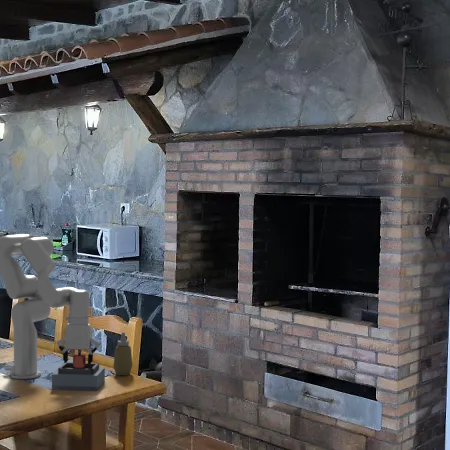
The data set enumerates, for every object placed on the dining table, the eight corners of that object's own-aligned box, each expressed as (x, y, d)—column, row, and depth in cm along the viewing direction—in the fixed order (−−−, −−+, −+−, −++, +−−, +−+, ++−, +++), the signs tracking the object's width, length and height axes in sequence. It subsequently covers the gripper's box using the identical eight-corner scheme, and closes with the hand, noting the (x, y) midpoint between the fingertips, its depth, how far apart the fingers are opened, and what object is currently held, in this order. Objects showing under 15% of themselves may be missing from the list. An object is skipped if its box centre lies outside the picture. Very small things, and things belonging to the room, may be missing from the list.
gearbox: (51, 389, 278) (51, 369, 278) (61, 380, 291) (61, 361, 291) (97, 390, 277) (97, 370, 277) (104, 381, 290) (104, 362, 290)
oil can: (71, 383, 282) (71, 349, 281) (74, 379, 287) (75, 347, 286) (83, 383, 281) (84, 350, 281) (86, 380, 286) (87, 347, 286)
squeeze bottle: (128, 377, 297) (129, 335, 296) (110, 376, 299) (110, 333, 298) (135, 372, 305) (135, 331, 304) (117, 371, 307) (117, 330, 306)
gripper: (54, 321, 279) (53, 364, 281) (98, 323, 278) (96, 366, 280) (60, 317, 287) (59, 359, 288) (102, 320, 286) (101, 361, 287)
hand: (77, 362), depth 284 cm, fingers open, 9 cm apart
